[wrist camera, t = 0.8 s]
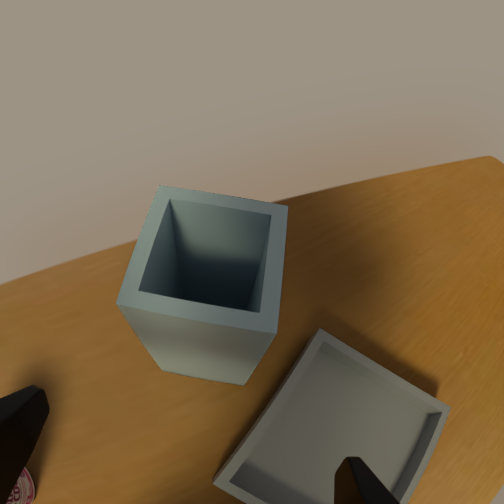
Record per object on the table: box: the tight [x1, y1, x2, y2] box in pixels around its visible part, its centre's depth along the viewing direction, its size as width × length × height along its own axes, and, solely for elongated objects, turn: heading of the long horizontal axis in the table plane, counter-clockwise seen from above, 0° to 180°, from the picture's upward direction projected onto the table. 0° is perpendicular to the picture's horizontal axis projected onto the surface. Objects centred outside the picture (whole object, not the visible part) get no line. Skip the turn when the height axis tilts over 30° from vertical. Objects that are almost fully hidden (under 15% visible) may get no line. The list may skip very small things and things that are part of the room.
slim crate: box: [116, 185, 288, 386], centre depth 18 cm, size 6×6×12 cm
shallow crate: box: [213, 328, 451, 504], centre depth 19 cm, size 13×13×2 cm
